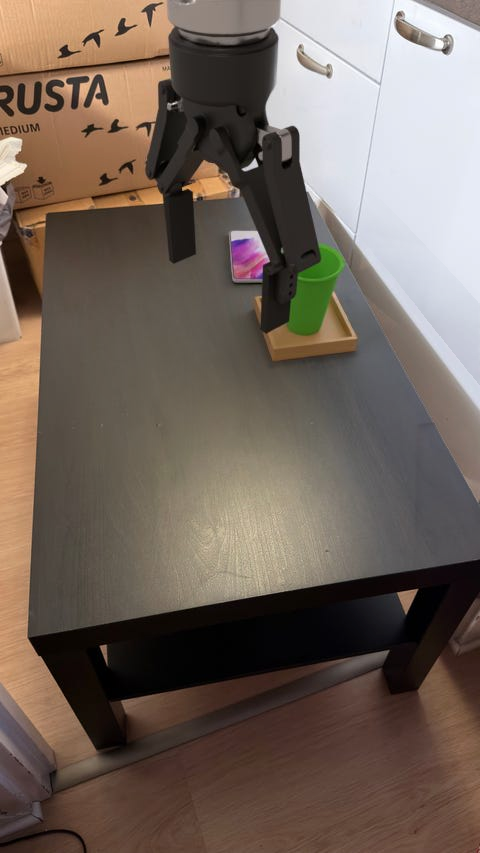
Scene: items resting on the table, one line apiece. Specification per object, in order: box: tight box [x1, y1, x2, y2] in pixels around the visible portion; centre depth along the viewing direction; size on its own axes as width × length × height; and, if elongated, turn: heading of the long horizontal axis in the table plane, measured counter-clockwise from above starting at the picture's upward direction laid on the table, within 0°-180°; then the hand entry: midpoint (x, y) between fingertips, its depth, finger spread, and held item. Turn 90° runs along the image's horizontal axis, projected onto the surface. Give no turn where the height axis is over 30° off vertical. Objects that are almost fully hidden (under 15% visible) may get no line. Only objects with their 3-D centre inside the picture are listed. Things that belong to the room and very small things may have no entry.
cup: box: [281, 242, 345, 336], centre depth 88 cm, size 9×9×11 cm
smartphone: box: [228, 229, 270, 284], centre depth 104 cm, size 7×1×15 cm
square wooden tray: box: [253, 289, 359, 362], centre depth 91 cm, size 12×12×2 cm
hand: (226, 289), depth 58 cm, fingers open, 13 cm apart
